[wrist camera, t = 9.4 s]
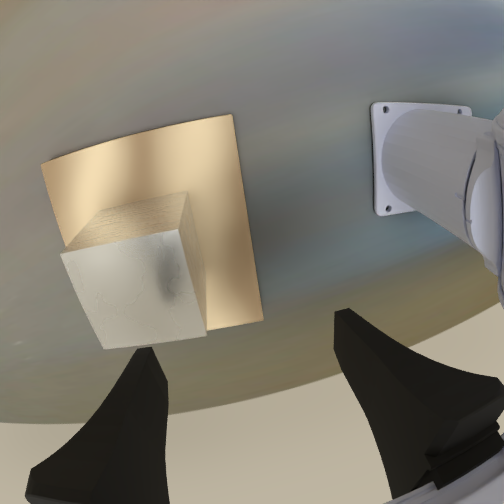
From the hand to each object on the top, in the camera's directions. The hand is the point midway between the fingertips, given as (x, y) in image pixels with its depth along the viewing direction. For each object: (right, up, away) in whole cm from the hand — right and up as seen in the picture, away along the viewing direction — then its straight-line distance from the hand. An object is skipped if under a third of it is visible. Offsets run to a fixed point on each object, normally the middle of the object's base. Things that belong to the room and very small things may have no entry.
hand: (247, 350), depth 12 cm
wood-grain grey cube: (-6, +4, +7) cm, 10 cm away
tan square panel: (-6, +5, +9) cm, 11 cm away
